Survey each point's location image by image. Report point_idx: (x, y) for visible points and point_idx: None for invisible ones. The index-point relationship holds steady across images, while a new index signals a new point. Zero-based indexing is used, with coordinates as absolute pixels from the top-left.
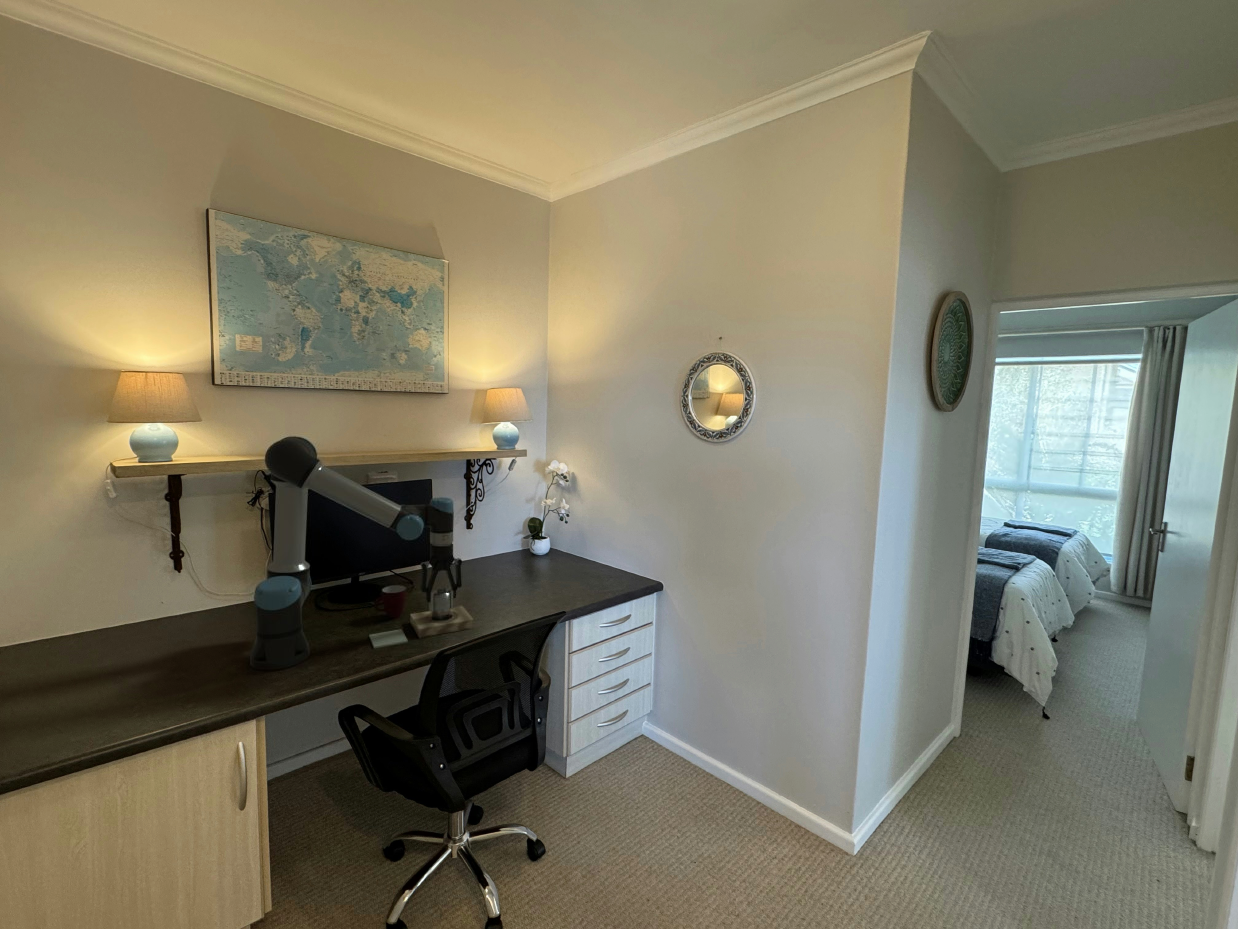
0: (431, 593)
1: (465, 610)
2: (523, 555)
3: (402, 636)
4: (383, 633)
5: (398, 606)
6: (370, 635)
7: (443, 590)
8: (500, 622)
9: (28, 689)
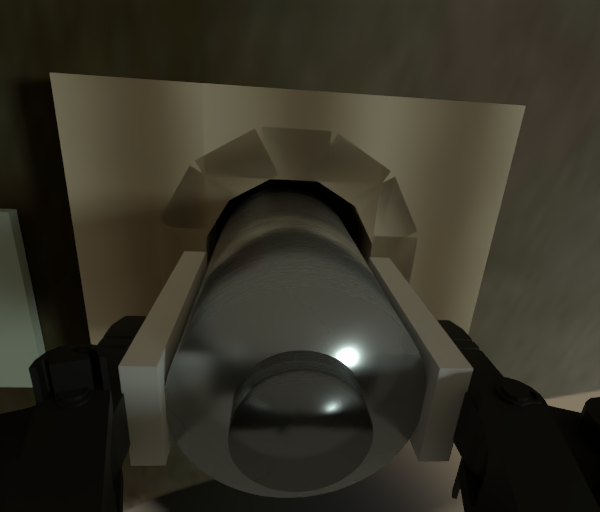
0: (136, 462)
1: (493, 223)
2: None
3: (14, 324)
4: None
5: None
6: None
7: (313, 487)
8: (589, 350)
9: None
